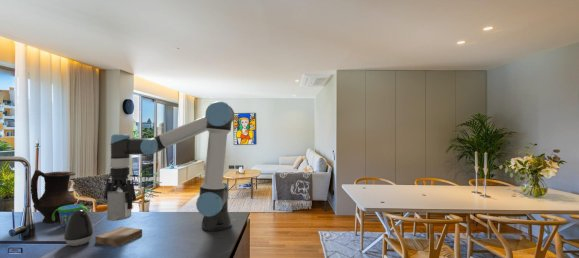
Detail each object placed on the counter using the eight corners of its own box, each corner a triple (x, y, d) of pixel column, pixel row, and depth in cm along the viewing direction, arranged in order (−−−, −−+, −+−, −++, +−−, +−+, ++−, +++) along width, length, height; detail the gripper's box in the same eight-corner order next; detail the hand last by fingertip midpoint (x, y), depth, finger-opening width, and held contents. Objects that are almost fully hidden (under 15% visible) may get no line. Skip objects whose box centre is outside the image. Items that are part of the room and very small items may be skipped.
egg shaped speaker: (69, 250, 111) (70, 214, 112) (60, 245, 117) (60, 210, 117) (97, 242, 120) (97, 208, 120) (87, 237, 126) (87, 205, 126)
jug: (62, 213, 163) (62, 165, 163) (84, 216, 158) (85, 166, 158) (19, 225, 142) (19, 169, 143) (43, 228, 137) (43, 170, 138)
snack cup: (92, 221, 149) (92, 203, 149) (82, 227, 139) (83, 208, 139) (59, 223, 145) (59, 205, 145) (47, 230, 135) (47, 210, 135)
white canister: (122, 220, 119) (123, 193, 119) (101, 220, 119) (102, 193, 119) (135, 214, 128) (135, 188, 128) (116, 214, 128) (116, 188, 129)
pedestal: (142, 235, 128) (142, 229, 128) (117, 246, 115) (117, 239, 115) (121, 232, 132) (121, 226, 132) (95, 243, 119) (95, 236, 119)
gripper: (145, 167, 124) (145, 214, 124) (109, 165, 131) (108, 210, 130) (131, 169, 117) (131, 219, 117) (94, 167, 123) (93, 215, 123)
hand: (119, 215), depth 124 cm, fingers closed on white canister, 9 cm apart
